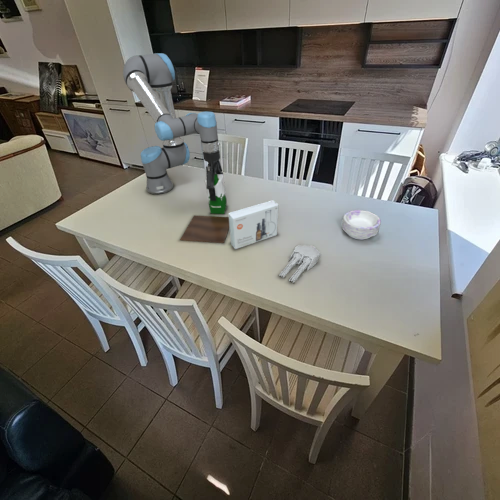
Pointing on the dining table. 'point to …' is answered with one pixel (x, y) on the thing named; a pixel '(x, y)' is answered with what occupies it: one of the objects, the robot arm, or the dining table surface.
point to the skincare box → (253, 224)
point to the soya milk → (218, 195)
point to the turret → (301, 260)
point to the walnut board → (207, 229)
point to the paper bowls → (361, 224)
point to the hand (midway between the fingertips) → (216, 193)
